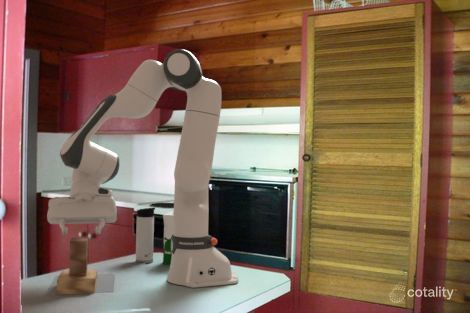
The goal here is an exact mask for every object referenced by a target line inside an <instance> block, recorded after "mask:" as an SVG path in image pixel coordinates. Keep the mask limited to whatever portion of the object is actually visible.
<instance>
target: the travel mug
mask: <svg viewBox="0 0 470 313" xmlns="http://www.w3.org/2000/svg"><path fill="white" fill-rule="evenodd" d="M136 210H137V211H136V230H135V232H136V236H135V239H136V240H135V262H136V263H145V264H151V263H153V262H154V232H155V210H156V207H155V206H154V207H147V208H139V209H136Z"/></svg>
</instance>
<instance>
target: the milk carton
mask: <svg viewBox="0 0 470 313" xmlns="http://www.w3.org/2000/svg"><path fill="white" fill-rule="evenodd" d="M162 218H163V226H164V227H163V254H162V264H163V265H170V264H171V258H172V252H171V239H172V235H173V219H174V211H173V212H166V213H164V214H162Z"/></svg>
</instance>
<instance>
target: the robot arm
mask: <svg viewBox="0 0 470 313" xmlns="http://www.w3.org/2000/svg"><path fill="white" fill-rule="evenodd" d="M167 89H170V90H175V91H179V92H184V93H186V96H187V101H186V105H185V110H184V111H185V112H184V116H183V124H182V129H181V134H180V139H179V143H178V144H179V146H178V151H177V156H176V162H175V167H174V173H173V177H174V194H173V212H174V219H173V235H172V239H171V252H172V258H171V264H169V271H168V273H167V277H166V281H167V282H169V283H171V284H173V285H179V286H184V287H188V288H203V287H204V288H205V287H217V286H222V285H223V286H225V285H234V284H237V283H238V282H239V276H238V274H237V273H235V272H233V271H232V267H231V262H230V260H229V259H228V257H227V256H226V255H225V254H223V253H222V252H221V251H219V249H217V248H216V247H215V246H217V244H218V239H217V238H215V237H213V236H211V235H210V234H209V211H210V210H209V183H210V180H211V175H212V168H213V162H214V155H215V148H216V140H217V139H216V138H217V134H218V129H219V124H220V123H219V122H220V117H221V111H222V87H221V86H220V84H219V82H217V81H215V80H213V79H209V78H206V77H204V74H203V70H202V67H201V65H200V62H199V61H198V59H197V58H196V57H195V55H194V54H193V53H192V52H191V51H189V50H187V49H183V48H180V49H174V50H171V51H169V53H168V54H167V55H166V56H165V58H164V60H163V63H162V62H160V61H157V60H156V59H155V60H154V59H147V60H144V61H142V63H141V64H140V65H139V66H138V67H137V68H136V69H135V71H134V72H133V74H132V75H131V77H130V78H129V79H128V81H127V83H126V84H125V86H124V87H123V88H122V89H121V90H120V91H119V92H117V93H116V94H109V95H107V96H106V97H104V99H102V101H101V102H100V103H99V104H97V106H96V107H95V108H94V110H92V112H91V113H90V114H89V116H87V118H86V119H85V121H84V122H82V123H81V124H80V126H79V128H77V130H75V132H74V133H72V135H71V136H69V137H68V138H67V139H66V141H65V142H64V143H63V145H62V146H61V148H60V151H59V156H60V159H61V160H62V162H63V165H64V166H65V167H68V168H71V169H73V170H72V175H71V183H72V184H71V185H70V186H71V187H70V192H69V196H55V197H53V198H50V199H49V200H48V205H47V206H48V209H47V214H46V218H47V222H48V223H49V224H50V225H59V227H60V229H61V235H64V236H65V235H68V232H69V229H68V226H65V224H67V225H68V224H70V225H71V224H73V225H74V224H75V225H76V224H98V225H95V231H94V232H95V234H96V235H97V234H98V235H99V234H101V233H102V231H101V230H102V229H103V228H104V226H106V224H111V223H112V224H113V223H114V224H115V222H116V221H117V220H118V212H117V210H118V209H117V204H116V201H115V199H114V193H113V190H111V189H108V188H105V187H100V186H101V185H105V184H106V183H108V182H110V181H111V180H113V179H115V177H116V176H117V174H118V173H119V170H120V157H119V155H118V154H117V153H115V152H114V151H112V150H110V149H108V148H106V147H103V146H101V145H99V144H97V143H96V142H93V141H91V139H92V138H93V136H94V135H95V134H96V133H97V132H98V130H99V129H101V127H102V126H103V124H104V123H105V122H106V121H108V120H109V119H112V118H124V119H133V120H137V119H142V118H144V117H147V116H149V114H151V113H152V111H153V109H155V107H156V105H157V103H158V102H159V99H160V98H161V96H162V94H163V93H164V92H165V90H167Z"/></svg>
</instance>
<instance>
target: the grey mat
mask: <svg viewBox="0 0 470 313" xmlns="http://www.w3.org/2000/svg"><path fill="white" fill-rule="evenodd" d="M58 277H59V275H56V276H55V277H54V278H53V280H52V282H51V284H50V286H49V287H48V289H47V290H46V292H45V294H44V295H45V296H47V295H49V296H50V295H58V294H57V279H58ZM115 280H116V273H108V274H107V273H104V274H103V273H102V274H97V286H96V290H95V293H94V294H97V293H98V294H99V293H100V294H102V293H114V290H115ZM74 294H75V295H77V294H79V293H74Z"/></svg>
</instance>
